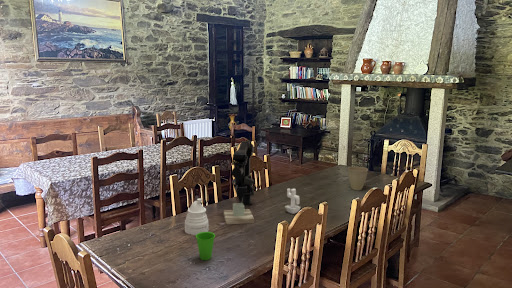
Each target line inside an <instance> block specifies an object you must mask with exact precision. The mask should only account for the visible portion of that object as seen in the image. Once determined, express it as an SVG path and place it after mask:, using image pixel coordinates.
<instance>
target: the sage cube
mask: <svg viewBox="0 0 512 288" xmlns="http://www.w3.org/2000/svg"><path fill="white" fill-rule="evenodd" d="M244 209H245V205H244V204H243V203H241V202H234V203H232V210H233V215H234V217H235V216H244Z"/></svg>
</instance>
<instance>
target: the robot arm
mask: <svg viewBox="0 0 512 288" xmlns="http://www.w3.org/2000/svg"><path fill="white" fill-rule="evenodd" d="M254 151H255V146H254V144H252V143H251V142H250V141H248V140H246V141H245V140H242V141H241V142H240V144H239V148H238V149H237V150H235V151H234V153H233V155H232V159H231V160H232V161H231V166H233V168H232V169H231V172H230V173H231V176H232V177H233V179H232V186H233V188H234V191H235V193H236V196H237V198H238V201H239V202H240V203H243V204H244V206H247V205H248V206H249V205H253V203H252V200H251V199H252V197H253V196H255V191H254V187H253V185H254V184H255V179H253V178H252V176H251V174H250V172H251V157H252V156H253V154H254Z"/></svg>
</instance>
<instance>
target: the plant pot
mask: <svg viewBox="0 0 512 288" xmlns="http://www.w3.org/2000/svg"><path fill="white" fill-rule="evenodd" d="M368 172H369V168H367V167H364V166H349V167H347V176H348V180H349V185H350V188H351V190H353V191H362V190H363V187H364V185H365V182H366V179H367V176H368Z"/></svg>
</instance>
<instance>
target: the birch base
mask: <svg viewBox="0 0 512 288" xmlns="http://www.w3.org/2000/svg"><path fill="white" fill-rule="evenodd" d="M223 217H224V221H225V223H226V225H235V224H236V225H240V224H254V223H255V218H254V216H253V214H252V211H251V209H248V208H247V209H245V208H244V216H235V217H234V215H233V209H224V210H223Z"/></svg>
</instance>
